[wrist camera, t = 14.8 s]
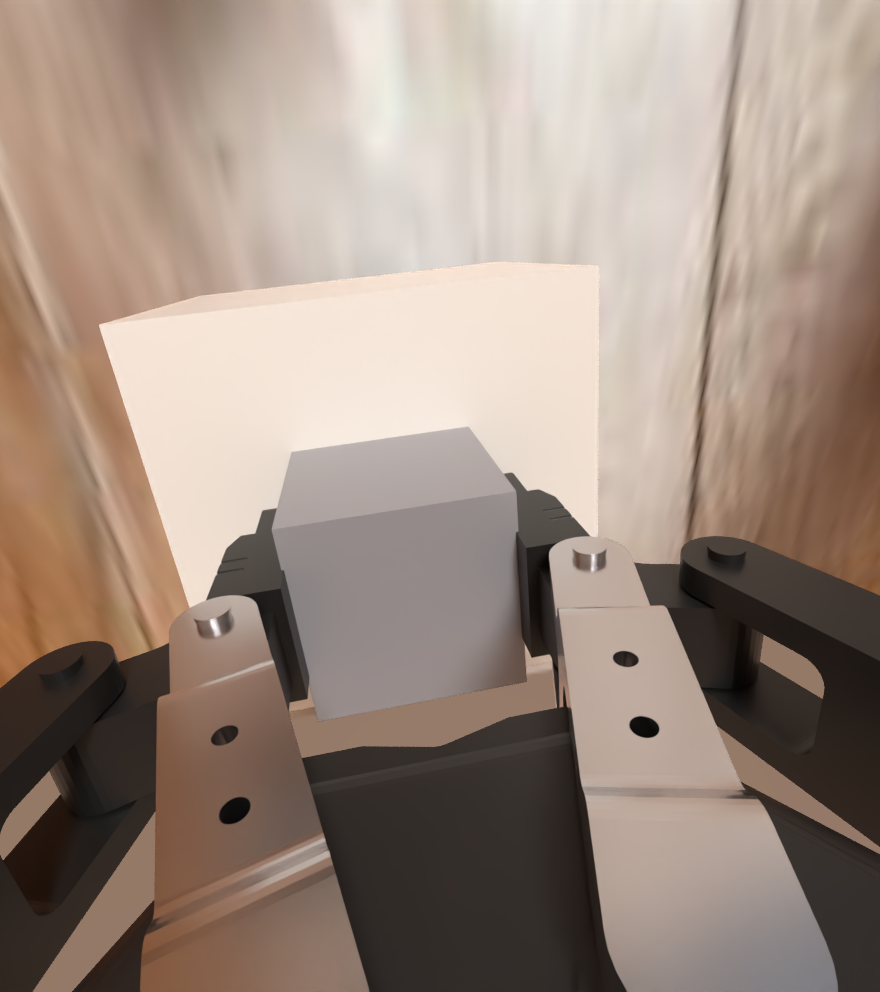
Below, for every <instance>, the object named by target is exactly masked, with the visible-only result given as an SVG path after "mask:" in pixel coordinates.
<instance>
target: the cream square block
mask: <svg viewBox="0 0 880 992" xmlns="http://www.w3.org/2000/svg"><path fill="white" fill-rule="evenodd" d="M99 327H100V330H101V333H102V337H103V340H104V343H105V346H106V349H107V352H108V355H109V358H110V361H111V365H112V368H113V371H114V374H115V377H116V380H117V383H118V386H119V389H120V392H121V396H122V399H123V402H124V405H125V408H126V411H127V414H128V417H129V420H130V424H131V427H132V430H133V433H134V436H135V439H136V442H137V445H138V448H139V452H140V455H141V458H142V461H143V464H144V467H145V470H146V473H147V476H148V480H149V483H150V486H151V489H152V492H153V495H154V498H155V501H156V504H157V507H158V511H159V514H160V517H161V520H162V523H163V526H164V529H165V532H166V535H167V539H168V542H169V545H170V548H171V551H172V554H173V557H174V560H175V563H176V567H177V570H178V573H179V576H180V579H181V582H182V585H183V588H184V591H185V595H186V598H187V601H188V604H189V607H190V608H191V607H193V606H194V605H196V604H199V603H201V602H203V601H206V599H207V596H208V593H209V591H210V588H211V586H212V583H213V581H214V578H215V576H216V575H217V571H218V568H219V566H220V564H221V560H222V558H223V555H224V553H225V550H226V548H227V547H229V546H230V545H231V544H232V543H233V542H234V541H235V540H236V539H238V538H239V537H240V536H242V535H248V534H255V533H256V529H257V526H258V523H259V520H260V516H261V513H262V511H263V510H268V509H274V508H277V510H276V514H275V518H274V522H273V526H272V534H273V538H274V542H275V546H276V550H277V554H278V559H279V563H280V567H281V570H284V572H285V577H286V581H287V585H288V589H289V593H290V597H291V602H292V606H293V610H294V614H295V618H296V623H297V627H298V631H299V635H300V639H301V644H302V648H303V652H304V656H305V660H306V664H307V669H308V673H309V688H308V699H306V700H300V701H295V702H290V706H289V712H290V711H295V710H301V709H306V708H311V707H314V708H315V712H316V716H317V720H318V722H320V721H325V720H330V719H336V718H341V717H346V716H351V715H356V714H362V713H367V712H372V711H377V710H383V709H388V708H393V707H398V706H404V705H409V704H413V703H419V702H424V701H429V700H435V699H440V698H445V697H450V696H456V695H461V694H466V693H471V692H477V691H482V690H487V689H492V688H498V687H503V686H508V685H513V684H519V683H524V682H527V678H526V667H528V666H534V665H539V664H544V663H550V662H552V658H551V656H550V654H549V655H544V656H539V657H533V658H531V655H530V653H529V651H528V649H527V647H526V645H525V643H524V641H523V639H522V627H521V609H520V592H519V574H518V556H517V538H516V532H519V531H518V513H517V495H516V490H515V489H514V487H513V486H512V485H511V483H510V482H509V481H508V479H507V478H506V477H505V475H504V473H511V472H512V473H514V475H515V476H516V477H517V478H518V480H519V481H520V482H521V484H522V485H523V486H524V487H525V489H526V490H527V491H530V490H537V489H539V490H542V491H544V492H546V493H548V494H551V495H553V496H555V497H556V498H557V499H558V500H559V501H560V502H561V503H562V505H563V506H564V508H565V509H567V510H568V511H569V513H570V514H571V515H572V517H574V518H575V519H576V520H577V522H578V523H579V524H580V525H581V526H582V527H583V528H584V530H585V531H586V532H587V533H588V534H589V535H590V536H592V537H598V395H599V266H592V265H568V264H544V263H519V262H490V263H482V264H473V265H464V266H456V267H447V268H438V269H430V270H421V271H412V272H404V273H395V274H386V275H378V276H369V277H360V278H352V279H343V280H334V281H326V282H317V283H308V284H299V285H291V286H282V287H273V288H265V289H256V290H247V291H239V292H230V293H221V294H213V295H204V296H198V297H194V298H191V299H187V300H184V301H180V302H177V303H173V304H170V305H166V306H163V307H159V308H156V309H152V310H149V311H145V312H142V313H138V314H135V315H131V316H128V317H124V318H121V319H117V320H114V321H111V322H107V323H104V324H100V325H99Z"/></svg>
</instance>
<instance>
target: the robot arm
mask: <svg viewBox="0 0 880 992" xmlns="http://www.w3.org/2000/svg"><path fill="white" fill-rule="evenodd" d="M504 475H505V477H506V478H507V479H508V481H509V482H510V483H511V485H512V486H513V487H514V489H515V490H516V495H517V513H518V531H519V532H516V538H517V556H518V574H519V592H520V609H521V627H522V639H523V641H524V643H525V645H526V647H527V649H528V651H529V653H530V655H531V658H533V657H539V656H544V655H549V654H550V656H551V658H552V668H553V687H554V697H555V707H556V708H554V709H550V710H544V711H539V712H534V713H529V714H524V715H519V716H514V717H509V718H506V719H504V720H502V721H499V722H497V723H495V724H492V725H490V726H488V727H485V728H484V729H481V730H478V731H476V732H474V733H472V734H469V735H467V736H464V737H462V738H460V739H457V740H455V741H453V742H450V743H448V744H445V745H442V746H438V747H366V746H363V747H357V748H352V749H347V750H342V751H336V752H332V753H326V754H321V755H316V756H311V757H306V758H302V757H301V754H300V750H299V747H298V743H297V740H296V736H295V733H294V729H293V726H292V722H291V719H290V715H289V706H290V702H295V701H300V700H306V699H308V688H309V673H308V669H307V664H306V660H305V656H304V652H303V648H302V644H301V639H300V635H299V631H298V627H297V623H296V618H295V614H294V610H293V606H292V602H291V597H290V593H289V589H288V585H287V581H286V577H285V572H284V570H281V567H280V563H279V559H278V554H277V550H276V546H275V542H274V538H273V534H272V526H273V522H274V518H275V514H276V510H277V508H274V509H268V510H263V511H262V513H261V516H260V520H259V523H258V526H257V529H256V533H255V534H248V535H242V536H240V537H239V538H238V539H236V540H235V541H234V542H233V543H232V544H231V545H230V546H229V547H227V548H226V550H225V553H224V555H223V558H222V560H221V564H220V566H219V568H218V571H217V575H216V576H215V578H214V581H213V583H212V586H211V588H210V591H209V593H208V596H207V599H206V601H203V602H201V603H199V604H196V605H194V606H193V607H191V608H189V609H187V610H186V611H184V612H183V613H182V614H180V615H179V616H178V617H177V618H176V619H175V620H174V622H173V623H172V624H171V627H170V629H169V643H168V644H166V645H164V646H162V647H159V648H157V649H154V650H152V651H149V652H146V653H143V654H141V655H138V656H135V657H132V658H129V659H126V660H124V661H121V662H118V659H117V657H116V654H115V652H114V649H113V648H112V646H111V645H109V644H107V643H104V642H99V641H88V642H81V643H76V644H72V645H69V646H65V647H63V648H60V649H57V650H55V651H53V652H50V653H48V654H46V655H44V656H43V657H41V658H39V659H37V660H36V661H34V662H33V663H31V664H30V665H28V666H27V667H26V668H24V669H23V670H22V671H21V672H19V673H18V674H17V675H16V676H15V677H13V678H12V679H11V680H10V681H9V682H7V683H6V684H5V685H4V686H3V687H1V688H0V832H1V829H2V827H3V824H4V823H5V821H6V819H7V817H8V816H9V814H10V813H11V812H12V810H13V809H14V808H15V807H16V806H17V805H18V804H19V803H20V802H21V800H22V799H23V798H24V797H25V796H26V795H27V794H28V793H29V792H30V791H31V790H32V789H33V788H34V786H35V785H36V784H37V783H38V782H39V781H40V780H41V779H42V778H43V777H44V776H45V775H46V773H47V772H48V771H50V773H51V776H52V778H53V780H54V782H55V784H56V786H57V788H58V790H59V792H60V793H61V795H60V796H59V797H58V798H57V799H56V800H55V802H54V803H53V804H52V805H51V806H50V807H49V808H48V810H47V811H46V812H45V813H44V814H43V815H42V817H41V818H40V819H39V820H38V821H37V822H36V823H35V825H34V826H33V827H32V828H31V829H30V830H29V831H28V833H27V834H26V835H25V836H24V837H23V838H22V840H21V841H20V842H19V843H18V844H17V845H16V846H15V848H14V849H13V850H12V851H11V852H10V853H9V854H8V856H7V857H6V858H5V859H4V860H2V858H1V856H0V992H33V990H34V989H35V987H36V986H37V984H38V983H39V981H40V980H41V978H42V977H43V975H44V974H45V973H46V971H47V970H48V968H49V967H50V965H51V964H52V962H53V961H54V959H55V958H56V956H57V955H58V953H59V952H60V950H61V949H62V947H63V946H64V945H65V943H66V942H67V940H68V939H69V937H70V936H71V934H72V933H73V931H74V930H75V928H76V927H77V925H78V924H79V923H80V921H81V919H82V918H83V917H84V915H85V914H86V912H87V911H88V909H89V908H90V906H91V905H92V903H93V902H94V900H95V899H96V897H97V896H98V895H99V893H100V892H101V890H102V889H103V887H104V886H105V884H106V883H107V881H108V880H109V878H110V877H111V875H112V874H113V873H114V871H115V870H116V868H117V867H118V865H119V864H120V862H121V861H122V859H123V858H124V856H125V855H126V853H127V852H128V850H129V849H130V847H131V846H132V844H133V843H134V842H135V840H136V839H137V837H138V836H139V834H140V833H141V831H142V830H143V828H144V827H145V825H146V824H147V823H148V821H149V820H150V818H151V817H152V815H153V814H154V812H155V811H156V821H155V823H156V824H155V826H156V827H155V897H154V901H153V902H152V903H151V904H150V905H149V906H148V907H147V908H146V910H145V911H144V912H143V913H142V914H141V915H140V916H139V917H138V918H137V920H136V921H135V922H134V923H133V924H132V925H131V926H130V927H129V929H128V930H127V931H126V932H125V933H124V934H123V935H122V936H121V937H120V939H119V940H118V941H117V942H116V943H115V944H114V946H112V948H111V949H110V950H109V951H108V952H107V953H106V954H105V955H104V957H103V958H102V959H101V960H100V961H99V962H98V963H97V964H96V965H95V967H94V968H93V969H92V970H91V971H90V972H89V973H88V974H87V976H86V977H85V978H84V979H83V980H82V981H81V983H80V984H79V985H78V986H77V987H76V988H75V989H74V990H73V991H72V992H880V854H878V853H876V852H874V851H872V850H871V849H868V848H866V847H865V846H863V845H861V844H859V843H857V842H855V841H853V840H851V839H849V838H847V837H845V836H844V835H842V834H839V833H838V832H836V831H834V830H832V829H830V828H828V827H826V826H824V825H822V824H821V823H819V822H817V821H815V820H813V819H811V818H809V817H807V816H805V815H803V814H801V813H799V812H798V811H796V810H794V809H792V808H790V807H788V806H786V805H784V804H782V803H780V802H778V801H776V800H775V799H773V798H771V797H769V796H767V795H765V794H763V793H761V792H759V791H757V790H755V789H754V788H752V787H750V786H748V785H746V784H744V783H742V782H740V780H739V778H738V776H737V773H736V771H735V768H734V766H733V764H732V761H731V759H730V757H729V754H728V752H727V749H726V747H725V745H724V743H723V740H722V738H721V735H720V733H719V731H718V728H717V726H718V727H720V728H721V729H722V730H724V731H725V732H726V733H728V734H729V735H730V736H732V737H733V738H734V739H736V740H737V741H738V742H740V743H741V744H743V745H744V746H745V747H746V748H748V749H749V750H750V751H752V752H753V753H755V754H756V755H757V756H758V757H760V758H761V759H762V760H764V761H765V762H766V763H768V764H769V765H771V766H772V767H773V768H775V769H776V770H777V771H779V772H780V773H781V774H783V775H784V776H785V777H787V778H788V779H789V780H791V781H792V782H794V783H795V784H796V785H797V786H799V787H800V788H802V789H803V790H804V791H805V792H807V793H808V794H809V795H811V796H812V797H813V798H815V799H816V800H818V801H819V802H820V803H822V804H823V805H824V806H826V807H827V808H828V809H830V810H831V811H832V812H834V813H835V814H836V815H838V816H839V817H841V818H842V819H843V820H844V821H846V822H847V823H849V824H850V825H851V826H852V827H854V828H855V829H856V830H858V831H860V833H862V834H863V835H864V836H866V837H867V838H869V839H870V840H871V841H873V842H874V843H875V844H877V845H878V846H879V847H880V596H879V595H877V594H875V593H872V592H870V591H867V590H865V589H863V588H860V587H858V586H855V585H853V584H851V583H848V582H846V581H843V580H841V579H838V578H836V577H834V576H831V575H829V574H826V573H824V572H822V571H819V570H817V569H814V568H812V567H810V566H807V565H805V564H802V563H800V562H797V561H795V560H793V559H790V558H788V557H785V556H783V555H781V554H778V553H776V552H773V551H771V550H769V549H766V548H764V547H761V546H759V545H756V544H754V543H751V542H749V541H745V540H742V539H737V538H731V537H721V536H712V537H702V538H698V539H694V540H692V541H690V542H688V543H686V544H685V545H684V546H683V547H682V549H681V557H680V564H641V563H634V562H633V559H632V556H631V554H630V552H629V550H628V549H627V548H626V547H625V546H623V545H622V544H620V543H618V542H616V541H613V540H610V539H607V538H601V537H592V536H590V535H589V534H588V533H587V532H586V531H585V530H584V528H583V527H582V526H581V525H580V524H579V523H578V522H577V520H576V519H575V518H574V517H572V515H571V514H570V513H569V511H568V510H567V509H565V508H564V506H563V505H562V503H561V502H560V501H559V500H558V499H557V498H556V497H555V496H553V495H551V494H548V493H546V492H544V491H542V490H539V489H537V490H530V491H527V490H526V489H525V487H524V486H523V485H522V484H521V482H520V481H519V480H518V478H517V477H516V476H515V475H514V473H512V472H511V473H504ZM763 635H766V636H767V637H769V638H771V639H773V640H775V641H777V642H778V643H780V644H782V645H784V646H786V647H787V648H789V649H791V650H793V651H795V652H796V653H798V654H800V655H802V656H803V657H805V658H807V659H808V660H809V661H810V662H811V663H812V664H813V665H814V666H815V667H816V668H817V669H818V671H819V673H820V674H821V676H822V678H823V681H824V686H825V689H824V696H823V699H821V698H820V697H818V696H816V695H814V694H813V693H811V692H810V691H808V690H806V689H805V688H803V687H801V686H800V685H798V684H796V683H795V682H793V681H791V680H790V679H788V678H786V677H784V676H783V675H781V674H780V673H778V672H776V671H775V670H773V669H771V668H769V667H768V666H766V665H764V664H763V663H761V662H760V656H761V649H762V642H763ZM716 725H717V726H716Z"/></svg>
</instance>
